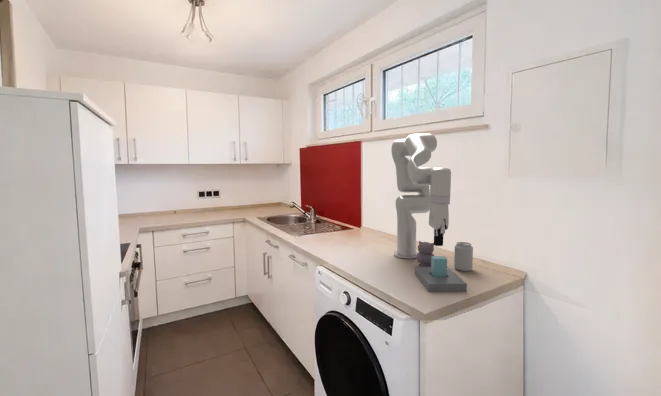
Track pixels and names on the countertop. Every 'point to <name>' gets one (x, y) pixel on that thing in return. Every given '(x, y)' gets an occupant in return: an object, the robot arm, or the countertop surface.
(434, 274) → the plug
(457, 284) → the socket
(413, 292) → the countertop surface
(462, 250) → the can
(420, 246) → the cat figurine
